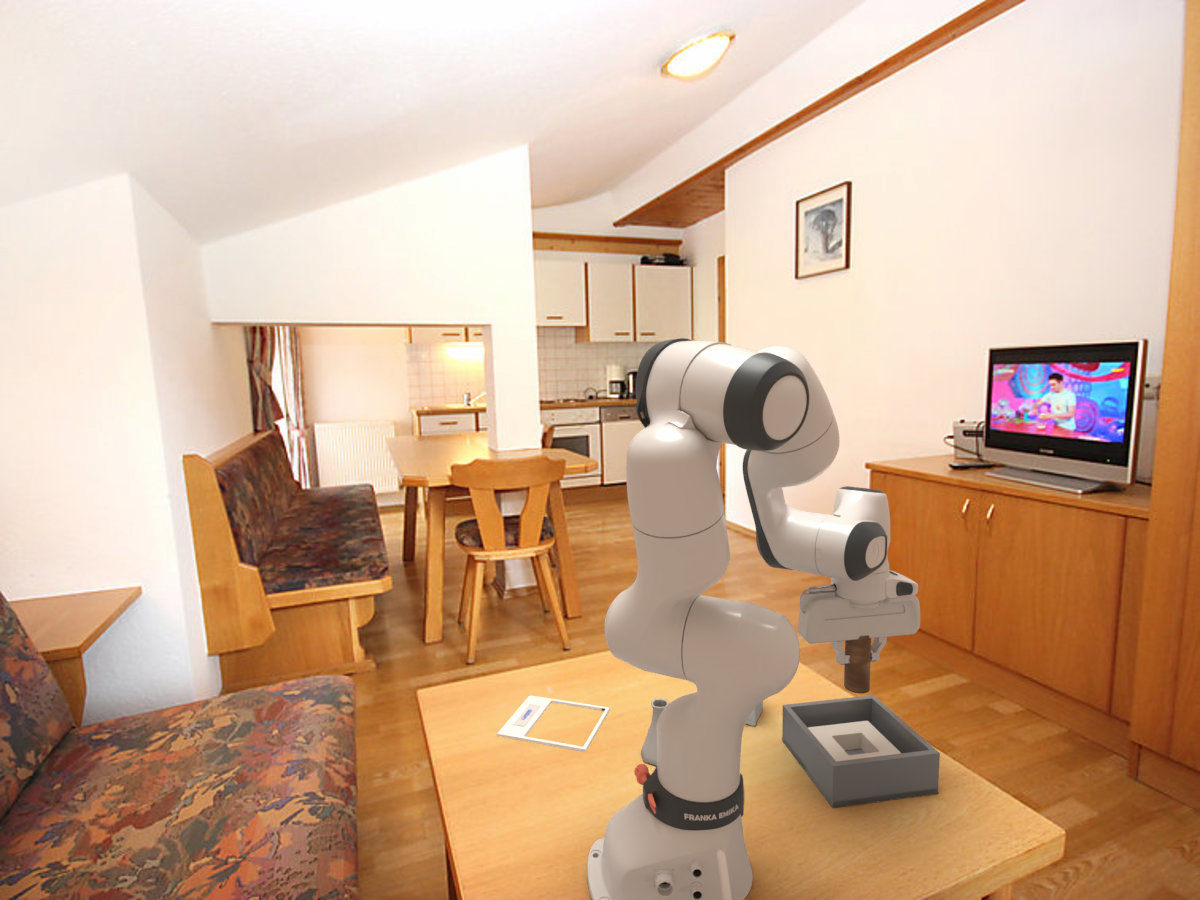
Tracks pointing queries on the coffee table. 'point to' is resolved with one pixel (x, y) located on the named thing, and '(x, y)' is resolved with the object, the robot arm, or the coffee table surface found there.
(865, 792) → the bin
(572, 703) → the photo frame
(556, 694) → the coffee table surface
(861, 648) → the peg
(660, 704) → the flask
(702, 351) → the robot arm
